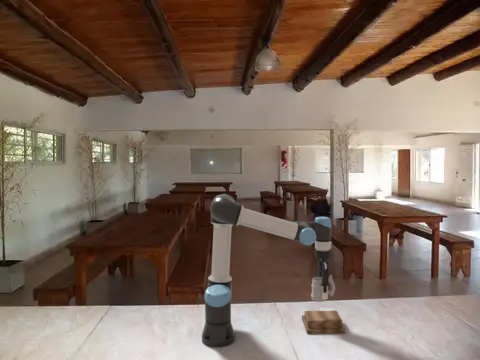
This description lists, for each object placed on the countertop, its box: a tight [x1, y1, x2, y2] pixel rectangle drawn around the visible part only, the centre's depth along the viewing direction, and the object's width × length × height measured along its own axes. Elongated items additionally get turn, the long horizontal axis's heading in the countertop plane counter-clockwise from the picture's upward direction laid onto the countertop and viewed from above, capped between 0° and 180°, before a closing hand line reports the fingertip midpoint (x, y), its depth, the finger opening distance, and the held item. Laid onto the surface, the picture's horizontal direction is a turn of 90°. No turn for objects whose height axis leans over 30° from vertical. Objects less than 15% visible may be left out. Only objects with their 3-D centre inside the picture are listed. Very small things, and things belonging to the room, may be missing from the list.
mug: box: [310, 274, 336, 303], centre depth 201 cm, size 8×12×12 cm, turn 93°
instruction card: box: [318, 307, 336, 311], centre depth 219 cm, size 8×11×1 cm
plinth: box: [301, 310, 347, 335], centre depth 202 cm, size 18×18×5 cm
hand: (323, 295), depth 202 cm, fingers closed on mug, 7 cm apart
